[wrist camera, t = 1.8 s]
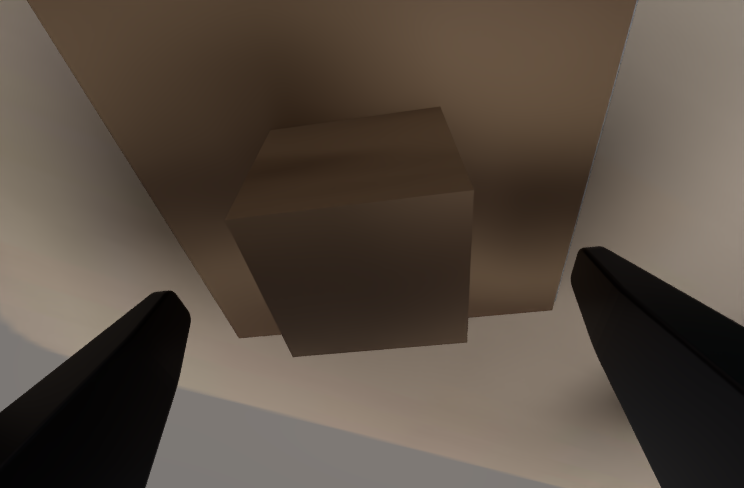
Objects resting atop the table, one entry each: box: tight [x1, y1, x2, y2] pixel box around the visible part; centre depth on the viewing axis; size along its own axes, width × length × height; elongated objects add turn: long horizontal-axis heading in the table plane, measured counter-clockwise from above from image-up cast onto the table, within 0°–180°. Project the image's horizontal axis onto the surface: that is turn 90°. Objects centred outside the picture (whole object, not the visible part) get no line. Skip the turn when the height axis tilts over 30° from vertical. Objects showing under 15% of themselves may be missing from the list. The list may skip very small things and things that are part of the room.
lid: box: [27, 0, 637, 357], centre depth 10 cm, size 13×13×5 cm
